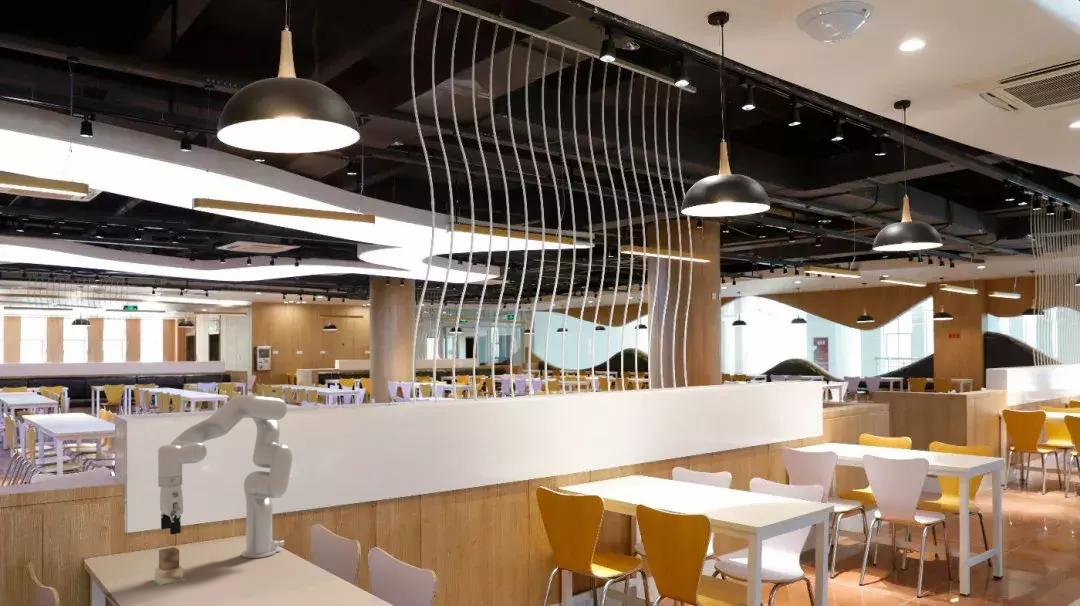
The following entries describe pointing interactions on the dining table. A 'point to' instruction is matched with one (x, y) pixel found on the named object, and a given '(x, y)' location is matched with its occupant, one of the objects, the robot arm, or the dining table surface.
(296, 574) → the dining table surface
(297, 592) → the dining table surface
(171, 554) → the walnut block
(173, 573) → the maple block
